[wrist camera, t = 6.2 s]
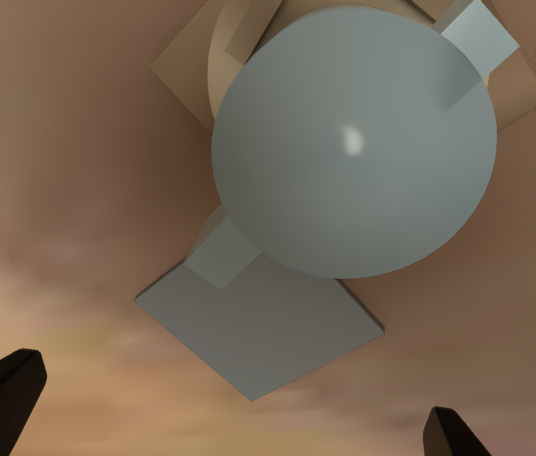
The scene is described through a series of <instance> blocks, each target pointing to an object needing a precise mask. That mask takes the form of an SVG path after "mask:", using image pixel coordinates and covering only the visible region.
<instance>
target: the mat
mask: <svg viewBox="0 0 536 456" xmlns="http://www.w3.org/2000/svg"><path fill="white" fill-rule="evenodd" d="M185 260H186V259H184V260H183V261H182V262H181V263H179V264H178V265H177V266H175V267H174V268H173V269H172V270H170V271H169V272H168V273H166V274H165V275H164V276H162V277H161V278H160V279H159V280H157V281H156V282H155V283H153V284H152V285H151V286H150V287H148V288H147V289H146V290H144V291H143V292H142V293H140V294H139V295H138V296H137V297H136V298H135V300H134V302H136V303H137V304H138V305H139V306H140V307H141V308H143V309H144V310H145V311H146V312H147V313H148V314H150V315H151V316H152V317H153V318H154V319H155V320H157V321H158V322H159V323H160V324H161V325H162V326H164V327H165V328H166V329H167V330H168V331H169V332H171V333H172V334H173V335H174V336H175V337H176V338H178V339H179V340H180V341H181V342H182V343H183V344H184V345H186V346H187V347H188V348H189V349H190V350H191V351H193V352H194V353H195V354H196V355H197V356H198V357H200V358H201V359H202V360H203V361H204V362H205V363H207V364H208V365H209V366H210V367H211V368H212V369H214V370H215V371H216V372H217V373H218V374H219V375H221V376H222V377H223V378H224V379H225V380H226V381H228V382H229V383H230V384H231V385H232V386H233V387H235V388H236V389H237V390H238V391H239V392H240V393H242V394H243V395H244V396H245V397H246V398H247V399H249V400H250V401H251V402H252V401H254V400H256V399H258V398H260V397H262V396H264V395H266V394H268V393H270V392H271V391H273V390H275V389H277V388H279V387H281V386H283V385H285V384H287V383H289V382H291V381H293V380H295V379H297V378H299V377H301V376H303V375H305V374H307V373H309V372H311V371H312V370H314V369H316V368H318V367H320V366H322V365H324V364H326V363H328V362H330V361H332V360H334V359H336V358H338V357H340V356H342V355H344V354H346V353H348V352H350V351H352V350H354V349H355V348H357V347H359V346H361V345H363V344H365V343H367V342H369V341H371V340H373V339H375V338H377V337H379V336H381V335H383V334H385V330H384V328H383V326H382V325H381V324H380V323H379V322H378V321H377V320H376V319H375V318H374V317H373V316H372V315H371V313H370V312H369V311H368V310H367V309H366V308H365V307H364V306H363V305H362V304H361V303H360V302H359V300H358V299H357V298H356V297H355V296H354V295H353V294H352V293H351V292H350V291H349V290H348V288H347V287H346V286H345V285H344V284H343V283H342V282H341V281H340V280H339V279H338V278H327V277H320V276H314V275H311V274H307V273H303V272H300V271H297V270H295V269H292V268H289V267H287V266H285V265H283V264H281V263H279V262H277V261H275V260H273V259H272V258H270V257H269V256H267V255H266V254H264V253H263V252H261V253H260V254H259V255H258V256H257V257H256V258H255V259H254V260H253V261H252V262H251V263H250V264H248V265H247V266H246V267H245V268H244V269H243V270H242V271H241V272H240V273H239V274H238V275H237V276H236V277H235V278H234V279H233V280H232V281H231V282H230V283H229V284H227V285H226V286H225V287H224V288H223V289H222V290H220V289H219V288H217V287H216V286H215V285H213V284H212V283H210V282H209V281H207V280H206V279H205V278H203V277H202V276H200V275H199V274H198V273H196V272H195V271H193V270H192V269H191V268H189V267H188V266H186V265H185V264H184V262H185Z"/></svg>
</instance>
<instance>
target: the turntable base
mask: <svg viewBox="0 0 536 456" xmlns="http://www.w3.org/2000/svg"><path fill="white" fill-rule="evenodd" d="M481 1H482V3H483V4H484V5H485V6H486V7H487V9H488V10H489V11H490V12H491V13H492V14H493V16H494V17H495V18H496V19H497V20H498V21H499V23H500V24H501V25H502V26H503V27H504V28H505V29H506V31H507V32H508V33H509V31H508V29H507V28H506V26H505V24H504V23H503V21H502V19H501V18H500V16H499V14H498V12H497V11H496V9H495V7H494V6H493V4H492V2H491V1H490V0H481ZM225 2H226V0H208V1H207V2H206V3H205V4H204V5H203V6H202V8H201V9H200V10H199V11H198V12H197V13H196V14H195V15H194V16H193V18H192V19H191V20H190V21H189V22H188V23H187V24H186V25H185V27H184V28H183V29H182V30H181V31H180V32H179V33H178V34H177V35H176V37H175V38H174V39H173V40H172V41H171V42H170V43H169V44H168V45H167V47H166V48H165V49H164V50H163V51H162V52H161V53H160V54H159V56H158V57H157V58H156V59H155V60H154V61H153V62H152V63H151V64H150V66H149V68H150V69H151V70H152V71H153V72H154V73H155V74H156V75H157V76H158V77H159V78H160V80H161V81H162V82H163V83H164V84H165V85H166V86H167V87H168V88H169V89H170V90H171V92H172V93H173V94H174V95H175V96H176V97H177V98H178V99H179V100H180V101H181V102H182V104H183V105H184V106H185V107H186V108H187V109H188V110H189V111H190V112H191V113H192V114H193V116H194V117H195V118H196V119H197V120H198V121H199V122H200V123H201V124H202V125H203V126H204V128H205V129H206V130H207V131H208V132H209V133H210V134H211V135H213V129H214V123H215V120H214V116H213V113H212V109H211V104H210V99H209V93H208V78H207V73H208V56H209V51H210V45H211V39H212V36H213V32H214V29H215V26H216V23H217V19H218V17H219V15H220V13H221V10H222V8H223V6H224V4H225ZM509 34H510V33H509ZM510 35H511V34H510ZM487 90H488V93H489V96H490V99H491V102H492V104H493V108H494V114H495V119H496V125H497V132H499V131H501V130H502V129H504V128H505V127H507V126H508V125H510V124H511V123H513V122H514V121H516V120H517V119H519V118H520V117H522V116H523V115H525V114H526V113H528V112H529V111H531V110H532V109H534V108H536V77H535V75H534V74H533V72H532V70H531V68H530V67H529V65H528V63H527V62H526V60H525V58H524V57H523V55H522V53H521V51H520V50H519V48H517V49H516V50H515V51H514V52H513V53H512V54H511V55H510V56H508V57H507V58H506V59H505V60H504V61H503V62H502V63H501V64H500V65H498V66H497V67H496V68H495V69H494V70H493V71H492V72H491V73H490V74H489V81H488V85H487Z"/></svg>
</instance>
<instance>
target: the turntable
mask: <svg viewBox="0 0 536 456" xmlns="http://www.w3.org/2000/svg"><path fill="white" fill-rule="evenodd" d="M455 1H456V0H226V2H225V4H224V6H223V8H222V10H221V13H220V15H219V17H218V19H217V23H216V26H215V29H214V32H213V36H212V39H211V45H210V51H209V56H208V73H207V78H208V93H209V99H210V104H211V109H212V113H213V116H214V120H216V116H217V113H218V110H219V107H220V104H221V102H222V100H223V98H224V96H225V94H226V92H227V90H228V88H229V86H230V85H231V83H232V82H233V80H234V78H235V77H236V75H237V74H238V72H239V71H240V70H241V69H242V68H243V67H244V65H245V64H246V63H247V62H248V61H249V60H250V58H251V57H252V56H253V55H254V54H256V53H257V52H258V51H259V50H260V49H261V48H262V47H263V46H264V45H265V44H267V43H268V42H269V41H270V40H271V39H272V38H273V37H274V36H275V35H276V34H278V33H279V32H280V31H281V30H282V29H283V28H284V27H285V26H286V25H288V24H289V23H290V22H291V21H292V20H294V19H295V18H297V17H298V16H300V15H301V14H303V13H305V12H307V11H309V10H311V9H313V8H316V7H319V6H322V5H326V4H331V3H338V2H351V3H359V4H364V5H367V6H371V7H374V8H377V9H380V10H384V11H387V12H390V13H393V14H396V15H399V16H402V17H405V18H408V19H411V20H414V21H416V22H418V23H420V24H423V25H425V26H427V27H429V28H430V27H431V26H432V25H433V24H434V23H435V22H436V21H437V20H438V19H439V18H440V17H441V16H442V15H443V14H444V13H445V12H446V11H447V10H448V9H449V8H450V6H451V5H452V4H453V3H454V2H455ZM481 2H482V1H481ZM488 81H489V74H488V75H487V76H486V77H485V78H484V79H483V82H484V84H485V86H486V87H487V85H488Z"/></svg>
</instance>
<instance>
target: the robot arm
mask: <svg viewBox="0 0 536 456" xmlns="http://www.w3.org/2000/svg"><path fill="white" fill-rule="evenodd" d="M46 380H47V372H46V369H45V365H44V362H43V359H42V355H41V353H40V352H39V351H38V350H33V349H26V348H23V349H19V350H17V351H15V352H13V353H11V354H10V355H8V356H6V357H4V358H3V359H1V360H0V456H9V455H10V453H11V451H12V449H13V448H14V446H15V444H16V442H17V440H18V438H19V436H20V434H21V432H22V430H23V428H24V426H25V424H26V422H27V420H28V418H29V416H30V414H31V412H32V410H33V408H34V406H35V404H36V402H37V400H38V398H39V396H40V394H41V392H42V390H43V388H44V386H45V384H46ZM423 445H424V454H425V456H492V455H491V454H490V453H489V452H488V450H487V449H486V448H485V447H484V446H483V444H482V443H481V442H480V441H479V439H478V438H477V437H476V436H475V435H474V433H473V432H472V431H471V430H470V428H469V427H468V426H467V425H466V423H465V422H464V421H463V420H462V419H461V417H460V416H459V415H458V414H457V412H456V411H454V410H453V409H451V408H445V407H438V406H435V407H433V408H432V410H431V412H430V415H429V417H428V420H427V422H426V425H425V428H424V431H423Z"/></svg>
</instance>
